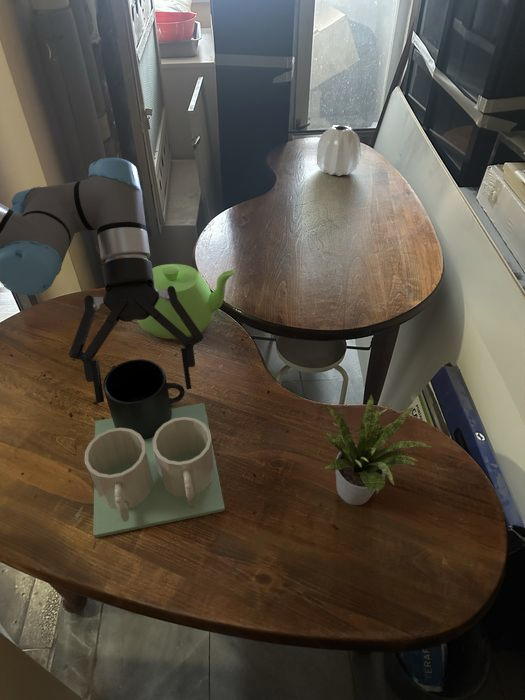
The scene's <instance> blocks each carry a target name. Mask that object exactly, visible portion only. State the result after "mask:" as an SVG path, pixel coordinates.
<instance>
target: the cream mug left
mask: <svg viewBox="0 0 525 700" xmlns="http://www.w3.org/2000/svg"><path fill="white" fill-rule="evenodd" d="M129 463H131V464H134V465H133V466H132V467H131V468H129V469H128V470H126V471H124V472H122V473H118V474H112V475H108V473H109V472H110V471H111V470H112V469H114V468H116V467H117V466H119V465H123V464H129ZM84 464H85V467H86V469H87V472H88V474H89V477H90V479H91V482H92V484H93V488H94V487H95V489H96V492H97V494H98V496H99V498H100V500H101V502H102V503H103V504H105V505H106V506H108V507H109V508H113V509H118V511H119V513H120V516H121V519H122V521H123V522H127V521H128V520H129V508H132V507H134V506H136V505H138V504H139V503H141V502H143V501H144V500H145V498H146V497H147V496H148V495H149V494H150V492H151V490H152V487H153V484H154V481H153V473H152V469H151V464H150V460H149V456H148V452H147V448H146V444H145V441H144V439H143V438H142V436H141V435H140V434H139V433H137V432H135V431H134V430H132V429H127V428H115V429H109V430H107V431H105V432H103V433H101V434H99V435H98V436H96V437H95V436H94V438H93V439H92V440H91V441H90V442H89V443H88V445H87V447H86V449H85V451H84Z"/></svg>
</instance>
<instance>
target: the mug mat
mask: <svg viewBox="0 0 525 700" xmlns="http://www.w3.org/2000/svg"><path fill="white" fill-rule="evenodd" d="M171 410H172V416H171V420H172V419H175V418H181V417H189V418H195V419H197V420H199V421H201V422H203V423H204V424H205V425H206V426H207V428H208V429H209V430H210V426H209V420H208V416H207V411H206V405H205V403H204V402H202V403H196V404H191V405H184V406H179V407H171ZM109 429H115V426H114V422H113V419H112V417H110V418H105V419H99V420H98V419H97V420H95V421H94V438H95V437H96V436H98V435H99V434H101V433H103V432H105V431H107V430H109ZM153 438H154V437H151V438H148V439H144V441H145V444H146V448H147V452H148V456H149V460H150V464H151V469H152V473H153V481H154V484H153V487H152V490H151V492H150V494H149V495H148V496H147V497H146V498H145V500H144V501H143V502H141V503H139V504H138V505H136V506H134V507H132V508H129V520H128V521H127V522H123V521H122V519H121V516H120V513H119V511H118V509H113V508H109V507H108V506H106V505H105V504H103V503H102V502H101V500H100V498H99V496H98V494H97V492H96V489H95V487H94V486H93V528H92V529H93V531H92V533H93V535H92V536H93V538H94V539H97V538H102V537H106V536H111V535H115V534H121V533H126V532H130V531H135V530H139V529H144V528H150V527H154V526H159V525H164V524H169V523H174V522H179V521H184V520H189V519H193V518H198V517H203V516H207V515H213V514H217V513H221V512H226V508H225V503H224V497H223V493H222V487H221V481H220V477H219V473H218V466H217V462H216V457H215V451H214V447H213V445H212V452H213V464H214V475H213V478H212V481H211V483H210V484H209V485H208V487H207V488H206V489H205V490H203V491H202V492H200V493H198V494H197V495H194V499H195V507H194V508H189V507H188V503H187V497H181V496H175V495H173V494H171V493H170V492H168V491H166V490H165V488H164V487H163V485H162V484H161V482H160V477H159V473H158V468H157V464H156V460H155V455H154V451H153ZM198 455H199V454H195V453H184V454H179V455H177V456H176V457H174V458H172V459H171V460H170V461H177V462H183V461H188V460H191V459H193V458H195V457H197V456H198ZM133 465H134V464H131V463H129V464H123V465H119V466H117V467H116V468H114V469H112V470H111V471H110V472H109V473H108V475H112V474H118V473H122V472H124V471H126V470H128V469H129V468H131V467H132V466H133Z"/></svg>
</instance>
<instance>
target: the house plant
mask: <svg viewBox="0 0 525 700" xmlns="http://www.w3.org/2000/svg"><path fill="white" fill-rule="evenodd" d="M378 404H379V403H378V402H377V404H376V408H375V409H374V398H373V394H372V393H371V394H370V395H369V398H368V400H367V402H366V405H365V409H364V413H363V417H362V421H361V423H360V426H359V431H358V435H357V442H356V443H357V444H355V442H354V440H353V436H352V434H351V431H350V429H349V427H348V425H347V422H346V421H345V419H344V418H343V417H342V416H341V415H340V414H338V413H337V412H336V411H335V410H334V409H333V408H332V407H330V406H327V405H325V407H326V409H327V411H329V413H330V416H331V417H332V418H333V420H334V421H335V424H336V426H337V427H338V435H335V434H332V433H326V436H327V440H328V441H329V442H330V444H332V445H333V446H334V447H335V448H336V449H337V450H338V451H339V453H338V454H337V456H336V457H335V458H336V459H333V460H331V461H330V462H329V463H328V464H327V465H326V466H325V467H324V468H323V469H324V470H326V469H327V470H331V471H335V483H336V486H335V487H336V493H337V495H338V496H339V497H340V498H341V499H342V501H344V502H345V503H346V504H348V505H352V506H362V505H364V504H366V503H367V502H368V501H369V500H370V499H371V497H372V496H373V495H374V494H375V492H376V494H378V493H379V492H380V491H381V490H383V488H384V487H385V485H386V477H387V479H389V481H390V483H391V484H392V485H393V486H395V481H394V477H393V474H392V472H391V469H390V468H389V467H391V466H403V465H412V466H419V464H418V463H415V462H419V460H418V459H416V458H415V457H411V456H408V455H407V453H405V452H404V451H401V450H398V449H405V448H413V447H423V448H433V446H432V445H430V444H427V443H425V442H421V441H417V440H399V441H395V442H392V443H390V444H388V445H387V446H385V447H383V446H384V445H385V444H386V443H387V442H388V441H389V440H390V439H391V438H392V437H393V435H394V434H395V433H396V432H397V431H398V430H399V429H400V428H401V426H402V425H403V423H404V422H405V421H406V420H407V418H408V416H409V415H410V414H411V413H412V411H413V409H414V406H412V407H411V408H409V409H407V410H405V411H404V412H402V413H401V414H399V416H398V417H396V419H395V420H393V421H392V422H390V423H388V424H386V425H385V426H380V425H381V415H382V414H383V413H385V412H387V410H389V409H390V408H391V407H392V405H390V406H388V407H386V408H385V409H383V410H380V408H379V405H378Z"/></svg>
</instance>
